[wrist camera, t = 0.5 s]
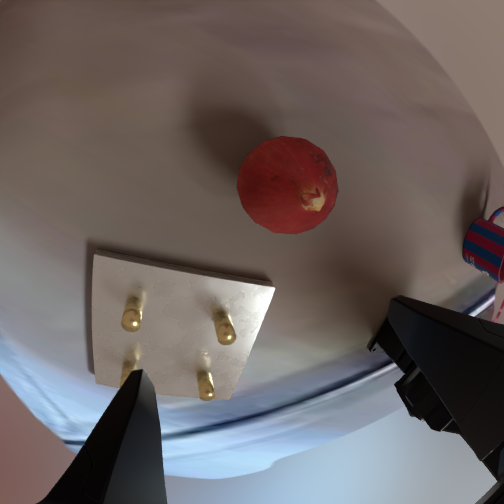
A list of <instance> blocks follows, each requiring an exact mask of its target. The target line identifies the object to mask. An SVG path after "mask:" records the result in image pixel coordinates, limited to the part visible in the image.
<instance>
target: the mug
mask: <svg viewBox="0 0 504 504" xmlns="http://www.w3.org/2000/svg"><path fill="white" fill-rule="evenodd" d="M502 212H504V207H500V208H499V209H497V210H496V211H495V212H494V213H493V214H492V215H491V216H490V218H489V219H488V221H487V220H484V219H482V218H479V219H477V220H475V221H474V222H473V224H472V225H471V227H470V228H469V230H468V232H467V235H466V238H465V241H464V246H463V258H464V260H465V262H467V263H468V264H470V265H472V266H473V267H475V268H476V269H478V270H480V271H481V272H483V273H484V274H486V275H488V276H489V277H491V278H492V279H494V280H495V281H497V282H498V283H503V282H504V228H502V227H500V226H498V225H496V224H494V223H493V221H494V219H495V218H496V217H497V216H498V215H499V214H500V213H502Z"/></svg>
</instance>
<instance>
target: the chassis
mask: <svg viewBox="0 0 504 504" xmlns="http://www.w3.org/2000/svg"><path fill="white" fill-rule="evenodd" d="M274 290H275V286H274V285H273V283H272V282H270V281H264V280H258V279H252V278H246V277H241V276H235V275H229V274H223V273H218V272H212V271H207V270H201V269H196V268H190V267H185V266H180V265H174V264H169V263H164V262H159V261H154V260H149V259H144V258H139V257H134V256H129V255H124V254H119V253H114V252H109V251H104V250H100V249H97V250H96V252H95V253H94V260H93V277H92V342H93V359H94V371H95V380H96V384H101V385H106V386H111V387H116V388H120V387H121V386H122V385H123V383H124V382H125V380H126V379H127V377H128V376H129V374H130V373H131V371H133V370H137V369H144V370H145V371H146V373H147V375H148V376H149V378H150V380H151V381H152V383H153V385H154V388H155V394H162V395H171V396H181V397H193V398H200V399H202V400H204V401H209V400H212V399H230V398H231V396H232V394H233V391H234V389H235V387H236V384H237V382H238V380H239V377H240V375H241V373H242V370H243V368H244V365H245V363H246V361H247V358H248V356H249V353H250V351H251V348H252V346H253V343H254V341H255V339H256V336H257V334H258V331H259V329H260V326H261V324H262V321H263V318H264V316H265V313H266V311H267V308H268V306H269V303H270V301H271V298H272V295H273V293H274Z"/></svg>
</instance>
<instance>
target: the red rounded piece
mask: <svg viewBox="0 0 504 504" xmlns="http://www.w3.org/2000/svg"><path fill="white" fill-rule="evenodd" d="M237 190H238V194H239V197H240V201H241V204H242V206H243V208H244V210H245V211H246V212H247V213H248V215H249V216H250V217H251V218H252V219H253V221H254V222H255V223H257V224H259V225H261V226H263V227H265V228H267V229H269V230H270V231H272V232H274V233H285V234H298V233H301V232H304V231H307V230H310V229H313V228H315V227H316V226H317V225H318V224H320V223H321V222H322V221H323V220H325V219H326V218H327V216H328V215H329V213H330V212H331V210H332V209H333V207H334V205H335V201H336V197H337V193H338V185H337V178H336V171H335V169H334V167H333V165H332V163H331V162H330V160H329V158H328V157H327V155H326V153H325V152H324V151H323V150H322V149H320V148H319V147H317V146H316V145H314V144H312V143H311V142H309V141H308V140H306V139H302V138H295V137H285V136H280V137H277V138H274V139H270V140H267V141H264V142H263V143H261V144H260V145H259V146H258V147H256V148H255V149H254V150H252V151H251V152H250V153H249V154H248V155H247V156H246V158H245V160H244V162H243V163H242V165H241V167H240V169H239V174H238V181H237Z"/></svg>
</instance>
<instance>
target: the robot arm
mask: <svg viewBox="0 0 504 504" xmlns="http://www.w3.org/2000/svg"><path fill="white" fill-rule="evenodd" d="M369 351H370V352H371V353H383V352H385V353H386V354H387V355H388V356H389V357H390V359H391V360H392V361H393V362H394V363H395V364H396V365H397V366H398V367H399V368H400V369H401V371H402V372H403V373H405V374H404V375H403V376H402V378H401V379H400V380H399V381H397V382H396V383H395V384H394V386H395V387H396V389H397V392H398V394H399V396H400V397H401V399H402V401H403V402H404V404H405V406H406V407H407V410H408V413H409V415H410V416H411V417H416V418H418V419H419V420H421V421H426V423H427V424H428V425H429V427H430V428H431V429H433V430H435V431H439V432H441V431H446V432H451V433H456V434H460V435H461V437H462V438H463V439H464V440H465V441H466V442H467V444H468V445H469V446H470V447H471V448H472V450H473V451H474V453H475V454H476V456H477V458H478V459H479V460H480V461H482V462H483V463H484V465H485V466H486V467H487V468H488V470H489V471H490V472H491V474H492V475H493V476H494V477H495V478H496V480H497V481H498V482H497V483H496V484H495V485H494V486H493V487H492V488H491V489H490V490H489V491H488V492H487V493H486V494H485V495H484V496H483V497H482V498H481V499H480V500H479V501H477V502H476V503H475V504H504V325H503V324H498V323H494V322H491V321H487V320H484V319H480V318H478V319H477V317H473V316H470V315H466V314H463V313H460V312H456V311H453V310H449V309H446V308H443V307H439V306H436V305H432V304H429V303H426V302H422V301H419V300H415V299H412V298H408V297H405V296H402V295H399V296H396V297H394V298H392V299H391V300H390V305H389V311H388V318H387V320H386V321H385V323H384V325H383V327H382V328H381V330H380V332H379V334H378V335H377V337H376V339H375V340H374V342H373V344H372V345H371V347H370V349H369ZM84 444H85V445H83V446H82V448H81V449H80V451H79V453H78V454H77V456H76V457H75V459H74V460H73V462H72V463H71V465H70V466H69V467H68V469H67V470H66V471H65V473H64V474H63V475H62V477H61V478H60V479H59V480H58V482H57V483H56V484H55V486H54V487H53V488H52V489H51V491H50V492H49V494H48V495H47V496H46V497H45V498H44V499H43V500H42V501H40V502H39V503H37V504H167V498H166V489H165V482H164V481H165V480H164V470H163V457H162V442H161V427H160V421H159V414H158V408H157V401H156V394H155V388H154V385H153V383H152V381H151V380H150V378H149V376H148V375H147V373H146V371H145V370H144V369H137V370H133V371H131V373H130V374H129V376H128V377H127V379H126V380H125V382H124V383H123V385H122V386H121V387H120V389H119V391H118V392H117V394H116V395H115V397H114V398H113V400H112V401H111V403H110V404H109V406H108V407H107V409H106V410H105V412H104V413H103V415H102V416H101V418H100V419H99V421H98V423H97V424H96V426H95V427H94V429H93V430H92V432H91V434H90V435H89V437H88V438H87V440H86V441H85V443H84Z"/></svg>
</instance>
